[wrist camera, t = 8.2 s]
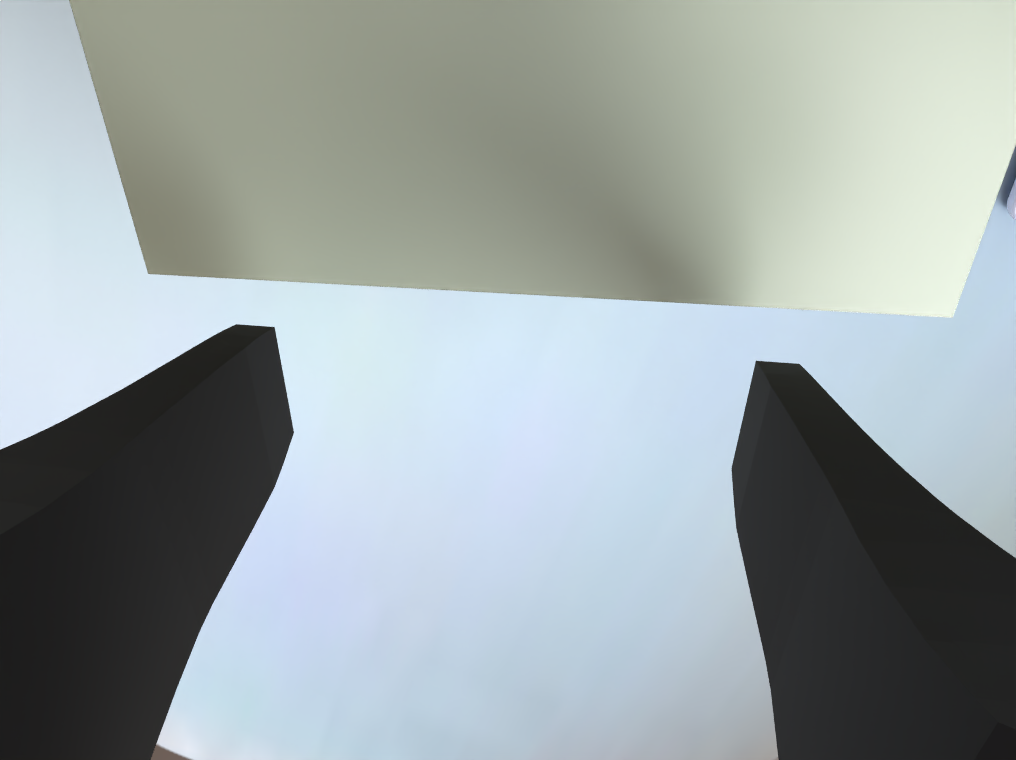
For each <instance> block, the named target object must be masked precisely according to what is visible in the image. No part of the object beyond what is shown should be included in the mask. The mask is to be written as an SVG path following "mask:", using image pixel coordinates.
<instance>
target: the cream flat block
mask: <svg viewBox="0 0 1016 760" xmlns="http://www.w3.org/2000/svg"><path fill="white" fill-rule="evenodd" d="M69 1H70V4H71V8H72V11H73V15H74V18H75V22H76V25H77V29H78V32H79V36H80V39H81V43H82V46H83V49H84V53H85V56H86V60H87V63H88V67H89V70H90V74H91V77H92V81H93V84H94V88H95V91H96V94H97V98H98V101H99V105H100V108H101V112H102V115H103V119H104V122H105V126H106V129H107V133H108V136H109V140H110V143H111V146H112V150H113V153H114V157H115V160H116V164H117V167H118V171H119V174H120V178H121V181H122V185H123V188H124V192H125V195H126V198H127V202H128V205H129V209H130V212H131V216H132V219H133V223H134V226H135V230H136V233H137V237H138V240H139V244H140V247H141V250H142V254H143V257H144V261H145V264H146V268H147V271H148V274H160V275H178V276H197V277H215V278H233V279H252V280H270V281H288V282H307V283H325V284H344V285H362V286H380V287H399V288H417V289H435V290H454V291H472V292H491V293H509V294H527V295H546V296H564V297H582V298H601V299H619V300H638V301H656V302H674V303H693V304H711V305H729V306H748V307H766V308H785V309H803V310H821V311H840V312H858V313H876V314H895V315H913V316H932V317H950V318H953V315H954V312H955V310H956V307H957V304H958V301H959V299H960V296H961V293H962V291H963V288H964V285H965V282H966V280H967V277H968V274H969V271H970V269H971V266H972V263H973V260H974V258H975V255H976V252H977V250H978V247H979V244H980V241H981V239H982V236H983V233H984V230H985V228H986V225H987V222H988V219H989V217H990V214H991V211H992V209H993V206H994V203H995V200H996V198H997V195H998V192H999V189H1000V187H1001V184H1002V181H1003V178H1004V176H1005V173H1006V170H1007V168H1008V165H1009V162H1010V159H1011V157H1012V154H1013V151H1014V148H1015V146H1016V0H69Z"/></svg>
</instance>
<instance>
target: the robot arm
mask: <svg viewBox="0 0 1016 760" xmlns="http://www.w3.org/2000/svg"><path fill="white" fill-rule="evenodd" d="M1007 209H1008V212H1009V214H1010V215H1011V216H1012V217H1013V218H1014V219H1015V220H1016V179H1015V182H1014V184H1013V187H1012V190H1011V192H1010V195H1009V198H1008V201H1007ZM293 433H294V431H293V426H292V420H291V415H290V409H289V404H288V398H287V393H286V387H285V382H284V376H283V371H282V366H281V360H280V355H279V349H278V344H277V338H276V333H275V327H265V326H251V325H237V324H236V325H234V326H232V327H230V328H228V329H226V330H224V331H222V332H220V333H218V334H216V335H214V336H212V337H211V338H209V339H207V340H205V341H204V342H202V343H200V344H198V345H197V346H195V347H193V348H192V349H190V350H188V351H187V352H185V353H183V354H181V355H180V356H178V357H176V358H175V359H173V360H171V361H170V362H168V363H166V364H165V365H163V366H161V367H159V368H158V369H156V370H154V371H153V372H151V373H149V374H148V375H146V376H144V377H142V378H141V379H139V380H137V381H136V382H134V383H132V384H131V385H129V386H127V387H125V388H123V389H122V390H120V391H118V392H116V393H114V394H112V395H110V396H109V397H107V398H105V399H103V400H101V401H99V402H97V403H96V404H94V405H92V406H90V407H88V408H86V409H84V410H83V411H81V412H79V413H77V414H75V415H73V416H71V417H69V418H68V419H66V420H64V421H62V422H60V423H58V424H56V425H54V426H52V427H50V428H48V429H45V430H43V431H41V432H39V433H37V434H35V435H33V436H31V437H28V438H26V439H24V440H22V441H19V442H17V443H15V444H12V445H10V446H8V447H6V448H3V449H1V450H0V760H151V757H152V754H153V751H154V748H155V746H156V743H157V740H158V738H159V735H160V732H161V729H162V727H163V724H164V721H165V719H166V716H167V713H168V710H169V708H170V705H171V702H172V700H173V697H174V694H175V692H176V689H177V686H178V684H179V681H180V679H181V676H182V674H183V671H184V669H185V666H186V664H187V661H188V659H189V656H190V654H191V651H192V649H193V646H194V644H195V641H196V639H197V636H198V634H199V632H200V629H201V627H202V625H203V623H204V621H205V619H206V617H207V615H208V613H209V610H210V608H211V606H212V604H213V602H214V600H215V599H216V597H217V595H218V593H219V591H220V589H221V587H222V585H223V584H224V582H225V580H226V578H227V576H228V574H229V572H230V571H231V569H232V567H233V565H234V563H235V561H236V559H237V557H238V556H239V554H240V552H241V550H242V548H243V546H244V544H245V543H246V541H247V539H248V537H249V535H250V533H251V531H252V530H253V528H254V526H255V524H256V522H257V520H258V518H259V516H260V514H261V512H262V510H263V509H264V507H265V505H266V503H267V501H268V499H269V497H270V495H271V493H272V491H273V489H274V487H275V485H276V482H277V479H278V477H279V474H280V471H281V469H282V466H283V463H284V460H285V457H286V454H287V451H288V448H289V445H290V442H291V439H292V436H293ZM732 481H733V495H734V507H735V518H736V528H737V533H738V538H739V543H740V547H741V552H742V556H743V561H744V566H745V570H746V575H747V579H748V584H749V588H750V593H751V597H752V602H753V606H754V611H755V615H756V620H757V624H758V628H759V633H760V637H761V642H762V646H763V651H764V655H765V660H766V665H767V671H768V677H769V683H770V688H771V696H772V705H773V713H774V722H775V731H776V740H777V749H778V758H779V760H1016V558H1015V557H1013V556H1012V555H1010V554H1009V553H1007V552H1006V551H1005V550H1003V549H1002V548H1000V547H999V546H998V545H996V544H995V543H994V542H992V541H991V540H990V539H988V538H987V537H986V536H984V535H983V534H982V533H980V532H979V531H978V530H976V529H975V528H974V527H972V526H971V525H970V524H968V523H967V522H966V521H964V520H963V519H962V518H960V517H959V516H958V515H957V514H955V513H954V512H953V511H952V510H950V509H949V508H948V507H947V506H945V505H944V504H943V503H942V502H940V501H939V500H938V499H937V498H936V497H935V496H933V495H932V494H931V493H930V492H929V491H928V490H927V489H925V488H924V487H923V486H922V485H921V484H920V483H919V482H917V481H916V480H915V479H914V478H913V477H912V476H911V475H909V474H908V473H907V472H906V471H905V470H904V469H903V468H902V467H901V466H900V465H898V464H897V463H896V462H895V461H894V460H893V459H892V458H891V457H890V456H889V455H888V454H887V453H886V452H885V451H884V450H883V449H882V448H881V447H879V446H878V445H877V444H876V443H875V442H874V441H873V440H872V439H871V438H870V437H869V436H868V435H867V434H866V433H865V432H864V431H863V430H862V429H861V428H860V427H859V426H858V425H857V424H856V422H855V421H854V420H853V419H852V418H851V417H850V416H849V415H848V414H847V413H846V412H845V411H844V410H843V409H842V408H841V407H840V406H839V405H838V404H837V403H836V402H835V401H834V399H833V398H832V397H831V396H830V395H829V394H828V393H827V392H826V391H825V390H824V389H823V388H822V387H821V386H820V385H819V384H818V382H817V381H816V380H815V379H814V378H813V377H812V376H811V375H810V374H809V373H808V372H807V371H806V370H805V369H804V368H803V367H802V366H801V365H800V364H793V363H778V362H764V361H756V363H755V368H754V372H753V376H752V381H751V385H750V390H749V394H748V398H747V403H746V407H745V412H744V416H743V421H742V425H741V429H740V434H739V438H738V443H737V447H736V451H735V456H734V460H733V465H732Z"/></svg>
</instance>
